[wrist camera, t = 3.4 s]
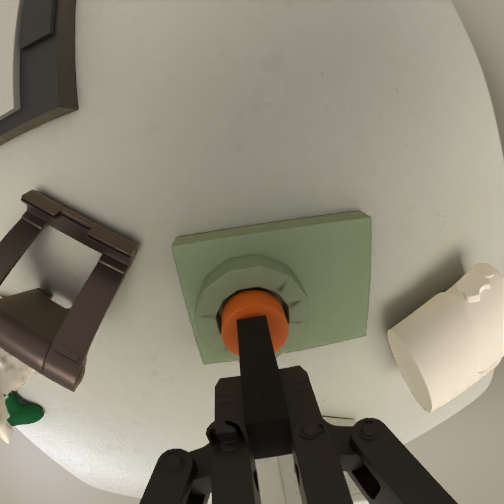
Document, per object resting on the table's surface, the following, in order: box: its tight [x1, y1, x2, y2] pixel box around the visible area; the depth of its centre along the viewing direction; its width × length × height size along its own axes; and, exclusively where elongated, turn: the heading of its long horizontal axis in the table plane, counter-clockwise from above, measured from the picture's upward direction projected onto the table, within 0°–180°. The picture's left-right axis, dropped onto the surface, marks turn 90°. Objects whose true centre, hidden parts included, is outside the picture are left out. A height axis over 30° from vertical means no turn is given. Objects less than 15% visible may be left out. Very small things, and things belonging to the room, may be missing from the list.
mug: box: [387, 263, 504, 413], centre depth 19 cm, size 12×9×8 cm
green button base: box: [172, 211, 371, 364], centre depth 18 cm, size 12×9×4 cm
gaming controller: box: [3, 392, 44, 426], centre depth 21 cm, size 9×4×6 cm
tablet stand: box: [0, 190, 138, 392], centre depth 14 cm, size 9×8×8 cm
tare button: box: [221, 290, 289, 356], centre depth 16 cm, size 4×4×2 cm
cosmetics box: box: [255, 417, 369, 504], centre depth 22 cm, size 10×6×10 cm, turn 66°
